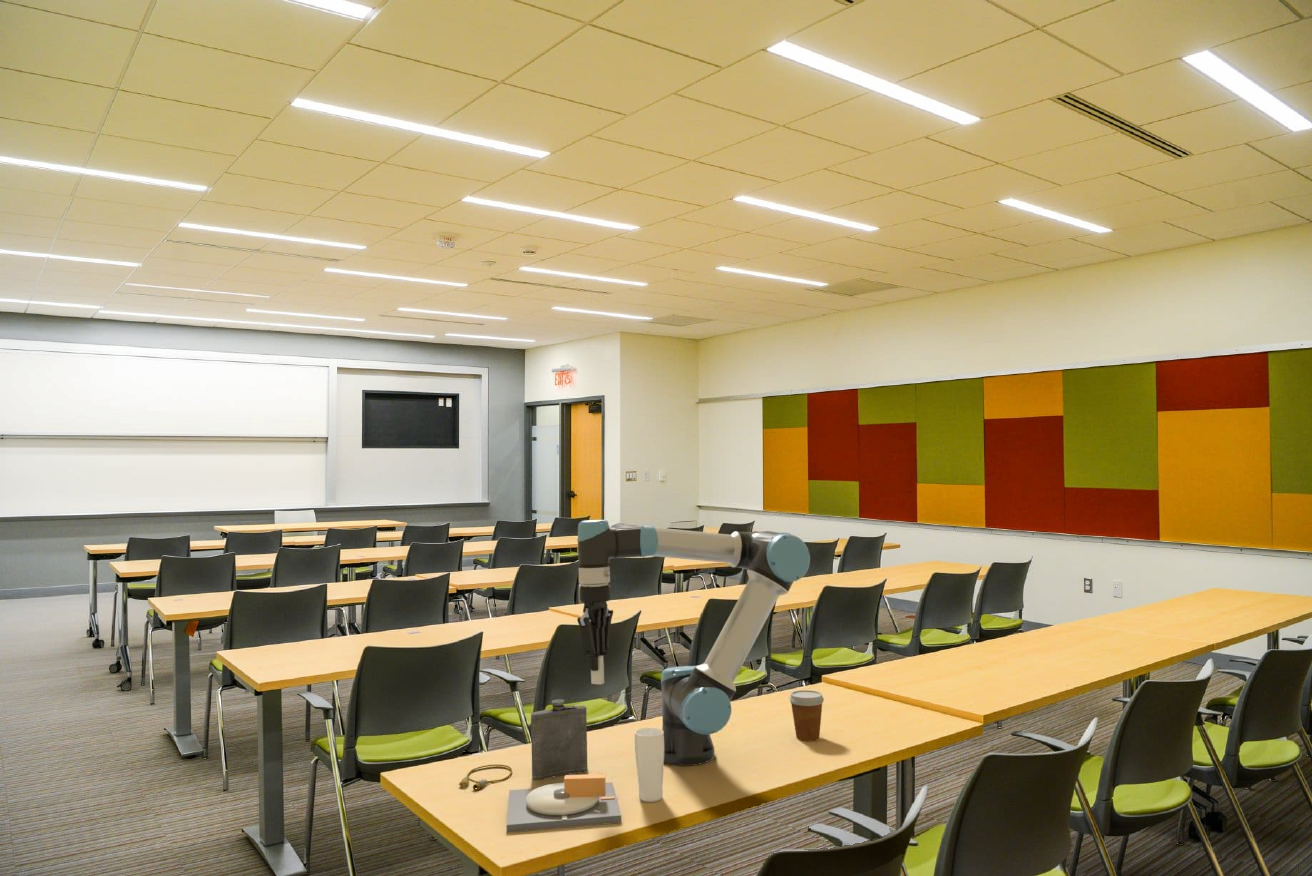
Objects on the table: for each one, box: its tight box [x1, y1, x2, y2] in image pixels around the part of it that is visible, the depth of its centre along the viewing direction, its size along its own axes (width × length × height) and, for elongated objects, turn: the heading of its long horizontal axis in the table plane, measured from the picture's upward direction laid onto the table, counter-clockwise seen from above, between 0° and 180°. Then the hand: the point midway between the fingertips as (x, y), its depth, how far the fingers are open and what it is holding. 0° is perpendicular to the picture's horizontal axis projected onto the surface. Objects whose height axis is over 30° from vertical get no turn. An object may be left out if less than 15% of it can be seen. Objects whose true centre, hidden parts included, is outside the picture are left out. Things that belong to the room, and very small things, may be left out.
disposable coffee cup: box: [788, 689, 825, 742], centre depth 233 cm, size 10×10×12 cm
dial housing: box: [506, 781, 622, 833], centre depth 187 cm, size 24×20×2 cm
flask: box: [530, 698, 589, 781], centre depth 210 cm, size 4×14×18 cm, turn 116°
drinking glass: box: [634, 727, 665, 803], centre depth 192 cm, size 7×7×15 cm
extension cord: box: [458, 763, 513, 792], centre depth 208 cm, size 12×16×2 cm
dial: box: [526, 773, 607, 815], centre depth 187 cm, size 18×16×5 cm
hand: (597, 683), depth 201 cm, fingers closed
